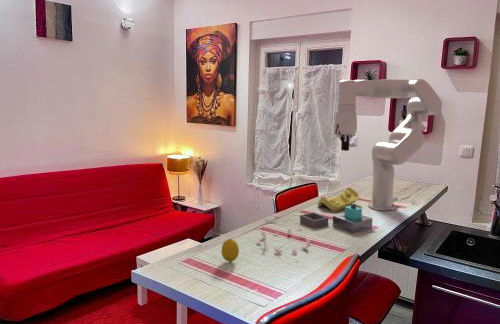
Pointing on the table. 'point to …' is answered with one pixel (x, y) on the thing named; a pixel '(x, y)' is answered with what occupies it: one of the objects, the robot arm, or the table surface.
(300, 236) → the game piece set
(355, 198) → the plastic component
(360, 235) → the table surface
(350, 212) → the plug
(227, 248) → the lemon
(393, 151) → the robot arm
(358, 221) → the port
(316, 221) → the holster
